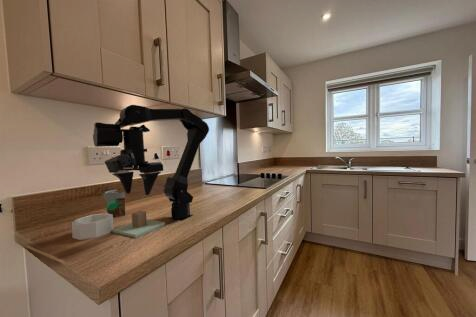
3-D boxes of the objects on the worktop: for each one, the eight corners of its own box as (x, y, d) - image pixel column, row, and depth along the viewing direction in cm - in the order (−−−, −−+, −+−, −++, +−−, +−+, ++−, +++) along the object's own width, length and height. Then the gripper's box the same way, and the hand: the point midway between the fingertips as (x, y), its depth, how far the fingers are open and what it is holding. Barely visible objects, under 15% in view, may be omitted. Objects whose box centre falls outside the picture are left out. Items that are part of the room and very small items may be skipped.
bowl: (101, 226, 70) (100, 212, 70) (119, 230, 65) (118, 215, 65) (67, 237, 61) (66, 221, 61) (85, 243, 57) (84, 225, 56)
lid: (143, 220, 73) (142, 206, 73) (165, 224, 68) (164, 209, 68) (112, 232, 63) (111, 215, 63) (135, 237, 58) (134, 219, 58)
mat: (143, 221, 73) (143, 220, 73) (167, 225, 68) (167, 224, 68) (110, 233, 63) (110, 232, 63) (135, 240, 57) (135, 238, 57)
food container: (101, 215, 84) (99, 191, 83) (118, 211, 88) (116, 189, 88) (108, 221, 75) (106, 195, 75) (126, 217, 79) (124, 192, 79)
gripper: (89, 147, 61) (93, 198, 61) (130, 144, 52) (134, 202, 53) (124, 147, 71) (127, 190, 71) (162, 144, 63) (166, 193, 63)
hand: (137, 194), depth 64 cm, fingers open, 9 cm apart
